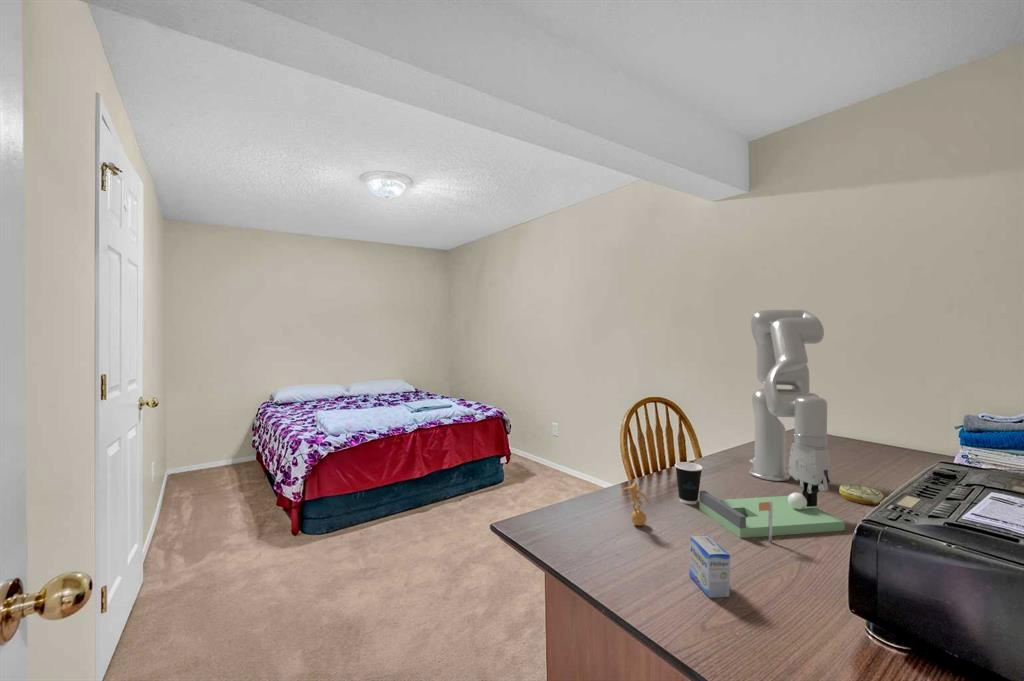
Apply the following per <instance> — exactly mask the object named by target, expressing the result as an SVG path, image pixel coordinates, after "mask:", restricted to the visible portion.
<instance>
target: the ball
mask: <svg viewBox="0 0 1024 681" xmlns="http://www.w3.org/2000/svg"><path fill="white" fill-rule="evenodd" d="M788 496H789V497H788V503H789V504H790V506H791V507H793V508H794V509H798V510H801V509H804V508H805V507H806V506H807V500H806V498H805V497H804V496H803V495H802V493H800V492H792V493H790V494H789V495H788Z"/></svg>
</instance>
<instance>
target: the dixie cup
mask: <svg viewBox="0 0 1024 681" xmlns="http://www.w3.org/2000/svg"><path fill="white" fill-rule="evenodd" d="M674 467H675V471H676V472H675V474H676V482H677V489H678V490H677V491H678V498H679V501H680V502H681V503H682V504H685V505H696V504H697V503H698V500H699V495H700V486H701V477H702V470H703V466H702V465H701V464H698V463H695V462H688V461H680V462H679V461H678V462H676V463H675V464H674Z"/></svg>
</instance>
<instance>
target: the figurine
mask: <svg viewBox="0 0 1024 681" xmlns="http://www.w3.org/2000/svg"><path fill="white" fill-rule="evenodd" d="M627 490H628V492H629V494H630V496H629V497H630V499H631V501H632V502H633V503H632V508H633V512H632V513H631V515H630V518H631V519H630V520H631V521H632V523H633V524H634V525H635V526H638V527H639V526H640V527H641V526H644V525H645V524H646V522H647V515H646V513H645V512H644V511H643V510H640V508H641V507H642V504H643V502H642V499H640V497H639V496H638V495H639V494H640V496H642V497H643V498H644V500H645V501H647V502H648V504H649V505H651V502H650V501H649V498H648V497H646V495H645V494H644V493H643V492H641V490H639V489H638V484H637V482H633V483H632V485H631V486H626V487H624V488H622V495H621V496H622V497H624V496H625V494H626V493H625V491H627ZM636 503H638V505H637V508H636V507H635V506H636Z"/></svg>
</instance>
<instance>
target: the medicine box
mask: <svg viewBox="0 0 1024 681" xmlns="http://www.w3.org/2000/svg"><path fill="white" fill-rule="evenodd" d="M689 538H690V539H689V565H688V566H689V569H688V570H689V572H688V575H689V577H690V579H691V580H692V581H693V582H694V583H695V584H696V585H697V587H699V588H700V589H701V590H702V592H703V593H704V594H705V595H706V596H707V597H708V598H709V599H713V598H730V587H731V586H730V580H731V579H730V576H731V575H730V572H731V555H730V554H729V553H728V552H727V551H726V550H725V549H723V547H721V545H719V544H718V543H717V542H716V541H715V540H714V539H712V538H711V537H710V536H708V535H697V536H696V535H695V536H690V537H689Z"/></svg>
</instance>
